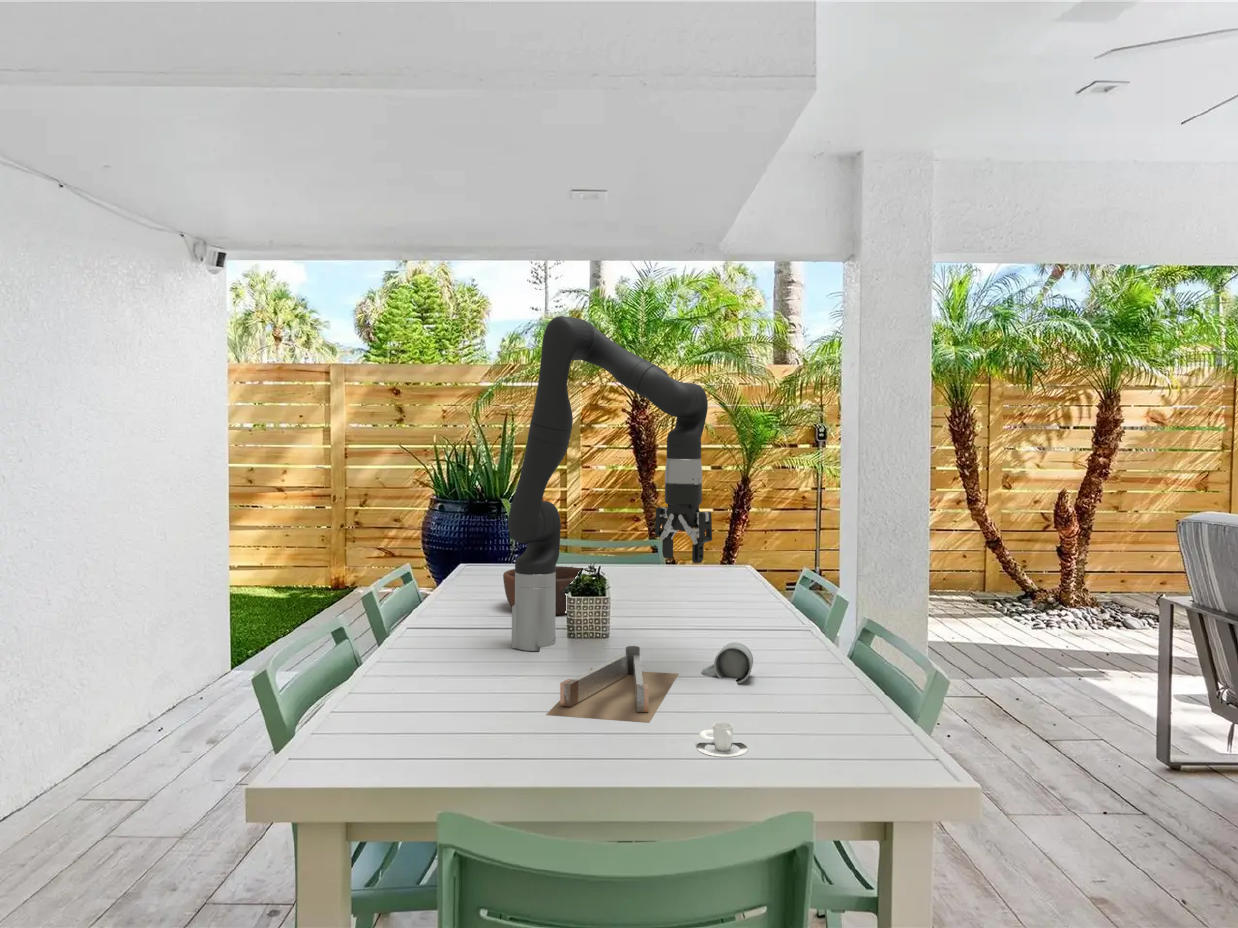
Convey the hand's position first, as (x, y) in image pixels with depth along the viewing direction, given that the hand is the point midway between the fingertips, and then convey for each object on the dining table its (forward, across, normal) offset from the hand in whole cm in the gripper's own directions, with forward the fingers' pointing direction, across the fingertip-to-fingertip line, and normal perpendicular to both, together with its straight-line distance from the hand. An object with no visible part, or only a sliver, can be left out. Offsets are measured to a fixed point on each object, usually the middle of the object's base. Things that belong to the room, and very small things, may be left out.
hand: (682, 560), depth 191 cm
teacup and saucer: (+24, +36, -24) cm, 49 cm away
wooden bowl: (+24, -72, +18) cm, 78 cm away
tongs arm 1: (+22, +2, -24) cm, 33 cm away
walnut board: (+23, +6, -22) cm, 32 cm away
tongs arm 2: (+22, +9, -19) cm, 30 cm away
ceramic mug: (+23, +10, +4) cm, 26 cm away
